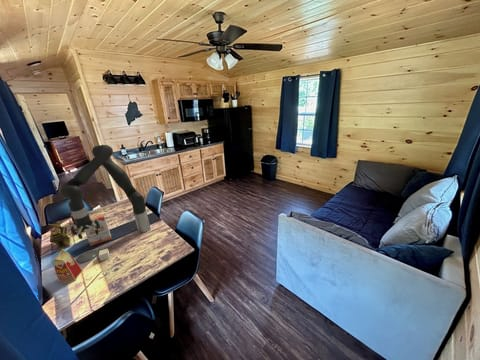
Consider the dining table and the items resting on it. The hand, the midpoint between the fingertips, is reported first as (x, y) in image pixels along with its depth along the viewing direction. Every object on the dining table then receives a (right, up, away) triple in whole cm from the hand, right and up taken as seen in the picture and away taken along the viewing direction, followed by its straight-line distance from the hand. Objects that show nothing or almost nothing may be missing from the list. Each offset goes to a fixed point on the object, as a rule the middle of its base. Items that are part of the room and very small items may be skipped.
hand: (89, 236), depth 131 cm
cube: (+5, -17, +8) cm, 20 cm away
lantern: (-42, -4, +48) cm, 64 cm away
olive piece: (-37, -13, +23) cm, 45 cm away
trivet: (-9, -17, +10) cm, 22 cm away
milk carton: (-6, -24, -7) cm, 25 cm away
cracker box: (-10, -11, +26) cm, 29 cm away
